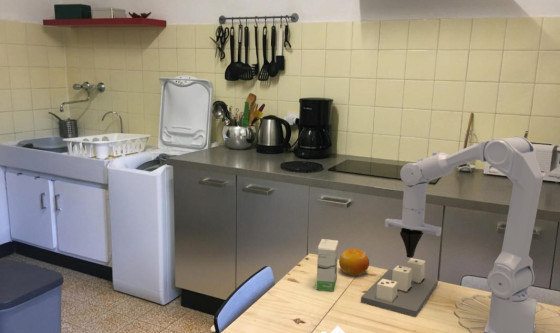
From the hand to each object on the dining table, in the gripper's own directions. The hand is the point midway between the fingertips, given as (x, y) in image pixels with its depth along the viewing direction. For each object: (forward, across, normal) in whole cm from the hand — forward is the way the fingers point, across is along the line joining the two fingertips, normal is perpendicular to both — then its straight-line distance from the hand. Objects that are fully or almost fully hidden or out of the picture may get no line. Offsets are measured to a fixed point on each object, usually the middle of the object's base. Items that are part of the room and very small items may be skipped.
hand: (410, 256), depth 128 cm
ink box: (+10, +20, +10) cm, 24 cm away
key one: (+7, -1, -4) cm, 8 cm away
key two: (+7, +1, +4) cm, 8 cm away
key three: (+9, +2, +11) cm, 15 cm away
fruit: (+10, +17, -2) cm, 19 cm away
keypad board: (+9, +1, +4) cm, 10 cm away
